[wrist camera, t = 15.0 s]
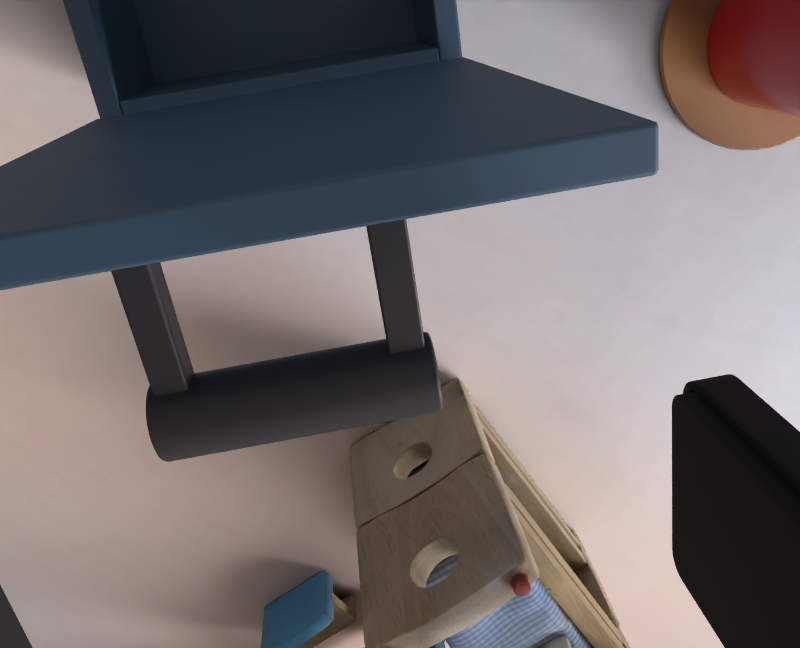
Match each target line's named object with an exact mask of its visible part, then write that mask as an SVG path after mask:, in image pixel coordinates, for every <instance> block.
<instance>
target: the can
mask: <svg viewBox="0 0 800 648" xmlns="http://www.w3.org/2000/svg"><path fill="white" fill-rule="evenodd" d="M707 60H708V65H709V69H710V72H711V75H712V77H713V79H714V81H715V83H716V85H717V86H718V87H719V89H720V90H721V91H722V92H723V93H724V94H725V95H726V96H727V97H729V98H730V99H732V100H733V101H735V102H737V103H740V104H743V105H746V106H751V107H755V108H759V109H764V110H768V111H773V112H777V113H782V114H786V115H791V116H795V117H799V118H800V0H722V1H721V3H720V5H719V6H718V8H717V10H716V12H715V14H714V17H713V19H712V22H711V25H710V29H709V33H708V39H707Z"/></svg>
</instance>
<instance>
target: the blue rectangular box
mask: <svg viewBox="0 0 800 648" xmlns="http://www.w3.org/2000/svg"><path fill="white" fill-rule="evenodd" d="M63 2H64V5H65V8H66V11H67V14H68V18H69V21H70V24H71V27H72V30H73V33H74V37H75V40H76V43H77V46H78V49H79V52H80V55H81V59H82V62H83V65H84V68H85V71H86V74H87V78H88V81H89V84H90V87H91V90H92V93H93V96H94V100H95V103H96V106H97V109H98V112H99V115H100V118H101V119H102V118H107V117H113V116H119V115H125V114H131V113H137V112H143V111H149V110H155V109H160V108H166V107H172V106H178V105H184V104H190V103H196V102H202V101H208V100H214V99H219V98H225V97H231V96H237V95H243V94H249V93H255V92H261V91H267V90H272V89H278V88H284V87H290V86H296V85H302V84H308V83H314V82H320V81H326V80H331V79H337V78H343V77H349V76H355V75H361V74H367V73H373V72H379V71H384V70H390V69H396V68H402V67H408V66H414V65H420V64H426V63H432V62H438V61H443V60H449V59H455V58H461V57H462V51H461V42H460V33H459V24H458V14H457V5H456V0H63Z"/></svg>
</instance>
